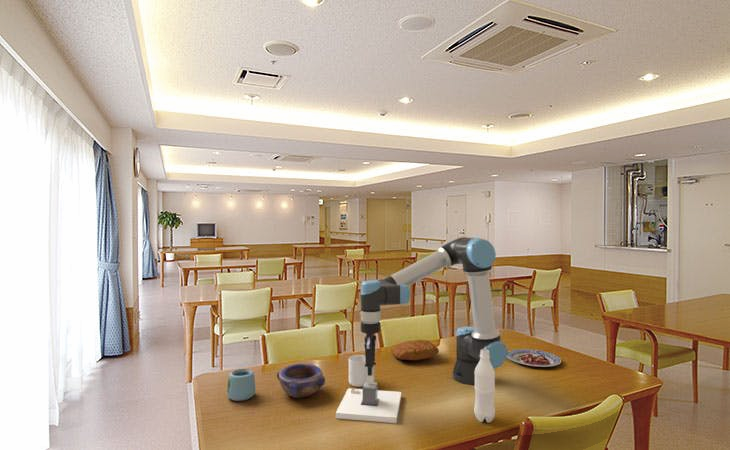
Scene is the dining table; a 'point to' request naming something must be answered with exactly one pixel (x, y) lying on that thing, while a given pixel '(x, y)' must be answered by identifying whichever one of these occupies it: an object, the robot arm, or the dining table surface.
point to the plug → (370, 394)
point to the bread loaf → (414, 350)
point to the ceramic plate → (534, 358)
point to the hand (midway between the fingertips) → (370, 382)
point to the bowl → (301, 379)
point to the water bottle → (484, 388)
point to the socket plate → (369, 407)
